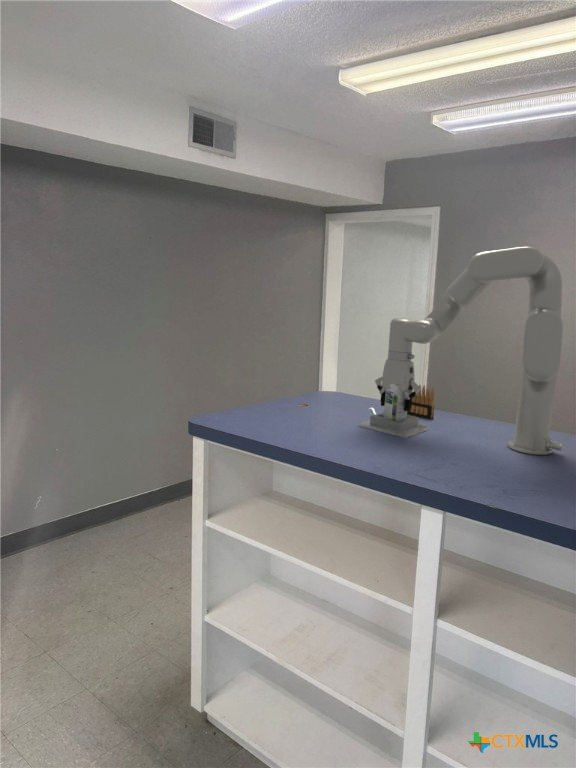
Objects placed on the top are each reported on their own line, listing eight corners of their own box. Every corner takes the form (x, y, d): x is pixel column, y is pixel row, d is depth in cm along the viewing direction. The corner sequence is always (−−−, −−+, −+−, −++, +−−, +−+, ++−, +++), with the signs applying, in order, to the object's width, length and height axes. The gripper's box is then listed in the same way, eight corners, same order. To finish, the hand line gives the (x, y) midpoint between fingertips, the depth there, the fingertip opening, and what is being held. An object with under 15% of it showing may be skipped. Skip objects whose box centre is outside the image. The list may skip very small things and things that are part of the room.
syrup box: (382, 423, 180) (385, 381, 178) (396, 422, 183) (399, 380, 180) (392, 428, 175) (396, 385, 173) (406, 426, 178) (410, 384, 175)
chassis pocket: (428, 429, 179) (429, 418, 178) (405, 438, 168) (406, 425, 167) (383, 419, 191) (384, 408, 190) (358, 426, 180) (359, 414, 179)
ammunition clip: (433, 419, 194) (436, 386, 192) (430, 419, 193) (433, 387, 191) (408, 413, 202) (410, 382, 199) (405, 414, 200) (407, 382, 198)
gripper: (429, 358, 172) (424, 411, 175) (383, 352, 183) (379, 401, 187) (417, 360, 166) (412, 414, 170) (371, 354, 178) (367, 404, 181)
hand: (395, 407), depth 178 cm, fingers open, 8 cm apart
